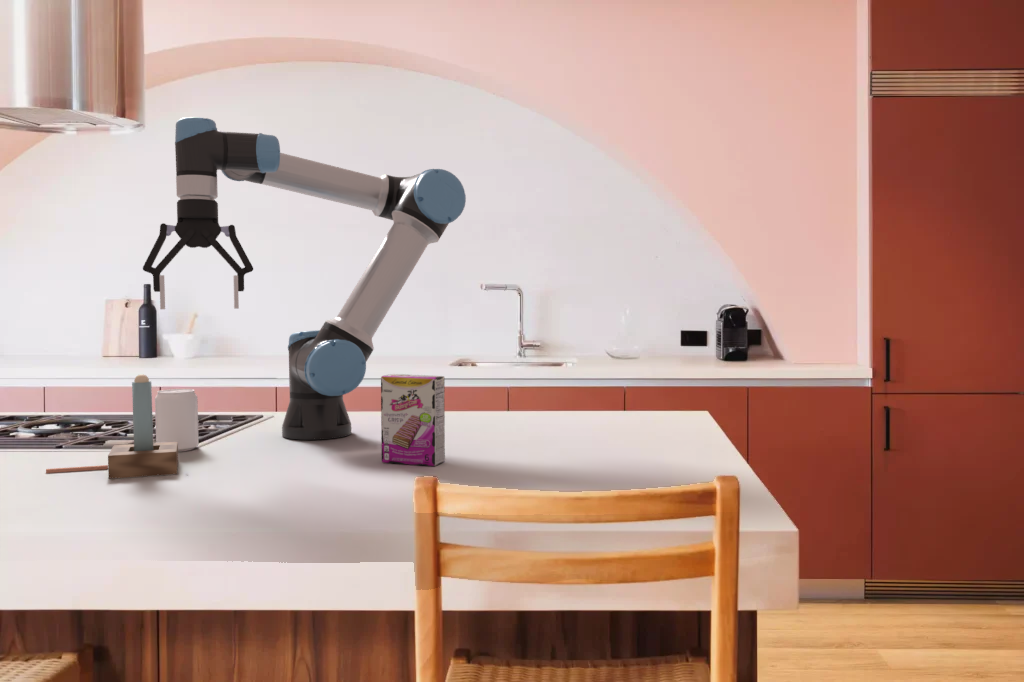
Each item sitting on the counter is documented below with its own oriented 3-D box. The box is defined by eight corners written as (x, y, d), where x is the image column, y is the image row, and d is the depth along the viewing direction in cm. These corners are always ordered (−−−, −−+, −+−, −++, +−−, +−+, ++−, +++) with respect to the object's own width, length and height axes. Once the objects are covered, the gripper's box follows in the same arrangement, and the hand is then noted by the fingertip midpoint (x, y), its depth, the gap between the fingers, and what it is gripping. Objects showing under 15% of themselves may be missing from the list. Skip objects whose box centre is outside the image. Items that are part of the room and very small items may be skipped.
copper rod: (108, 468, 162) (107, 465, 162) (107, 469, 161) (107, 465, 161) (46, 472, 159) (46, 468, 159) (46, 473, 158) (45, 469, 158)
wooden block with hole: (178, 462, 167) (177, 441, 167) (176, 474, 156) (176, 451, 156) (114, 466, 163) (113, 445, 163) (108, 478, 153) (107, 455, 153)
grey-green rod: (154, 468, 162) (151, 373, 161) (153, 471, 159) (150, 374, 158) (135, 469, 161) (132, 373, 160) (134, 472, 158) (131, 375, 157)
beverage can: (184, 453, 176) (182, 393, 176) (147, 452, 178) (146, 392, 177) (206, 446, 184) (204, 388, 184) (171, 445, 186) (169, 388, 185)
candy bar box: (380, 463, 165) (379, 375, 164) (392, 458, 170) (391, 373, 169) (435, 467, 162) (434, 377, 161) (446, 462, 166) (445, 375, 165)
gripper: (262, 203, 180) (264, 307, 181) (129, 199, 172) (132, 309, 173) (265, 199, 173) (267, 308, 174) (126, 195, 165) (129, 309, 166)
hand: (200, 309), depth 174 cm, fingers open, 13 cm apart
